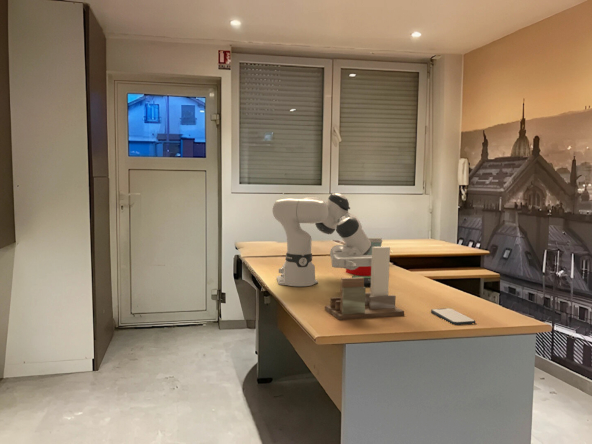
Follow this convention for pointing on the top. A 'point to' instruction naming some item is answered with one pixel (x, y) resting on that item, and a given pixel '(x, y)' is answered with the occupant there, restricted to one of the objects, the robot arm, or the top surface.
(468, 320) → the smartphone
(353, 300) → the block
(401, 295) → the top surface
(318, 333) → the top surface
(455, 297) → the top surface
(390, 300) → the rack
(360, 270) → the toy clock
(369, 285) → the disk drive
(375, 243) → the disposable coffee cup
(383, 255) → the cream rectangular board
